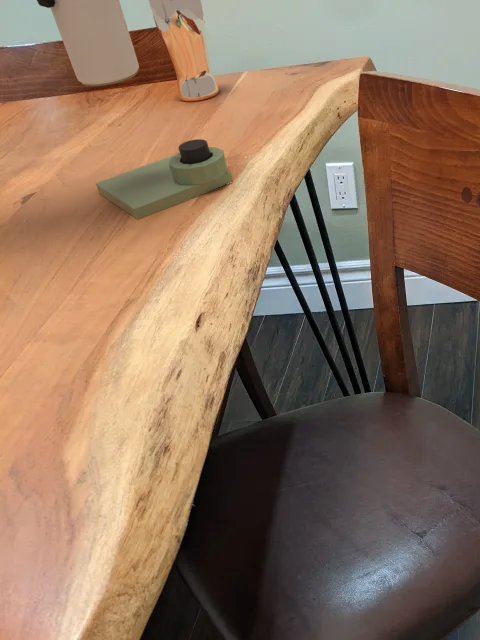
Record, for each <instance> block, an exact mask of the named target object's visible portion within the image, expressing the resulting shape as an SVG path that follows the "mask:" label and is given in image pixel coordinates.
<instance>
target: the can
mask: <svg viewBox="0 0 480 640" xmlns="http://www.w3.org/2000/svg"><path fill="white" fill-rule="evenodd" d="M54 1H55V5H54V7H51V8H50V10H51V13H52V16H53V19H54V21H55V24H56V26H57V29H58V31H59V34H60V37H61V40H62V42H63V45H64V48H65V51H66V53H67V56H68V58H69V62H70V64H71V67H72V70H73V72H74V74H75V78H76V80H77V81H78V82H80V83H81V84H82V85H83V86H85V87H86V86H87V87H103V86H109V85H114V84H118V83H121V82H124V81H127V80H130V79H132V78H134V77H135V76H137V74H138V72H139V69H140V64H139V61H138V57H137V55H136V51H135V48H134V45H133V41H132V39H131V38H132V37H131V35H130V34H131V33H130V31H129V28H128V25H127V22H126V18H125V16H124V12H123V9H122V6H121V3H120V0H54Z"/></svg>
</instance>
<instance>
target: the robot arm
mask: <svg viewBox="0 0 480 640" xmlns="http://www.w3.org/2000/svg"><path fill="white" fill-rule="evenodd" d="M36 1H37V4H38V5H39V6H40V7H44V8H47V9H51V7H54V5H55V1H54V0H36Z"/></svg>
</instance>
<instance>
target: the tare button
mask: <svg viewBox="0 0 480 640" xmlns="http://www.w3.org/2000/svg"><path fill="white" fill-rule="evenodd" d="M209 147H210V146H209V144H208V141H207V140H205V139H199V138H198V139H191V140H187V141H185V142H182V143H180V144H179V146H178V151H179V153H180V155H181V158H182V161H183V164H196V163H201V162H204V161H206V160H208V159H210V158H211V155H210V151H209Z"/></svg>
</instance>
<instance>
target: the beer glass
mask: <svg viewBox="0 0 480 640" xmlns="http://www.w3.org/2000/svg"><path fill="white" fill-rule="evenodd" d="M148 3H149V7H150V11H151V14H152V18H153V20H154V25H155V27H156V29H157V31H158V34H159V37H160V39H161V42H162V43H163V46H164V48H165V50H166V52H167V55H168V57H169V60H170V62H171V64H172V67H173V70H174V74H175V77H176V78H175V79H176V83H177V85H176V86H177V93H178V98H179V100H180V101H183V102H189V103H190V102H199V101H204V100H208V99H211V98H213V97H216V96H217V95H218V94H219V93H220V88H219V85H218V83H217V80H216V78H215V75H214V73H213V70H212V66H211V62H210V57H209V48H208V38H207V37H208V36H207V28H206V21H205V14H204V9H203V5H202V0H148Z"/></svg>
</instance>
